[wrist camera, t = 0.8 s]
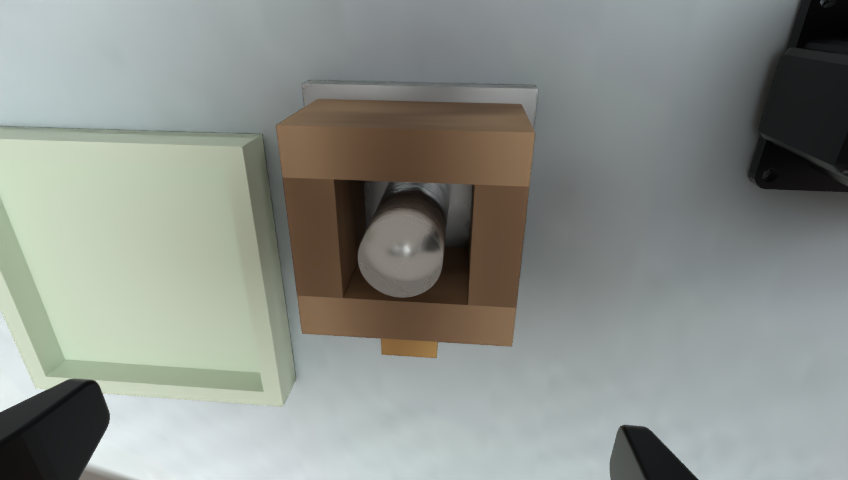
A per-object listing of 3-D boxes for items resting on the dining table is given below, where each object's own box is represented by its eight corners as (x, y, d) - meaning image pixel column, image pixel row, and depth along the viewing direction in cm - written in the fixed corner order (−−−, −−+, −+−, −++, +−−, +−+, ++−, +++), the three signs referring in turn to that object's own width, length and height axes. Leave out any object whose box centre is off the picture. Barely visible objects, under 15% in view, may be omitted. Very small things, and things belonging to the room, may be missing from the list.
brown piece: (521, 103, 16) (535, 132, 13) (501, 314, 20) (508, 381, 17) (317, 99, 17) (275, 124, 13) (335, 304, 21) (306, 368, 17)
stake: (535, 85, 17) (563, 122, 12) (514, 284, 20) (529, 380, 15) (308, 79, 18) (240, 113, 12) (326, 274, 21) (278, 364, 16)
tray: (262, 134, 19) (241, 146, 17) (296, 379, 24) (283, 406, 22) (-32, 125, 19) (-77, 136, 18) (64, 363, 25) (35, 388, 23)
